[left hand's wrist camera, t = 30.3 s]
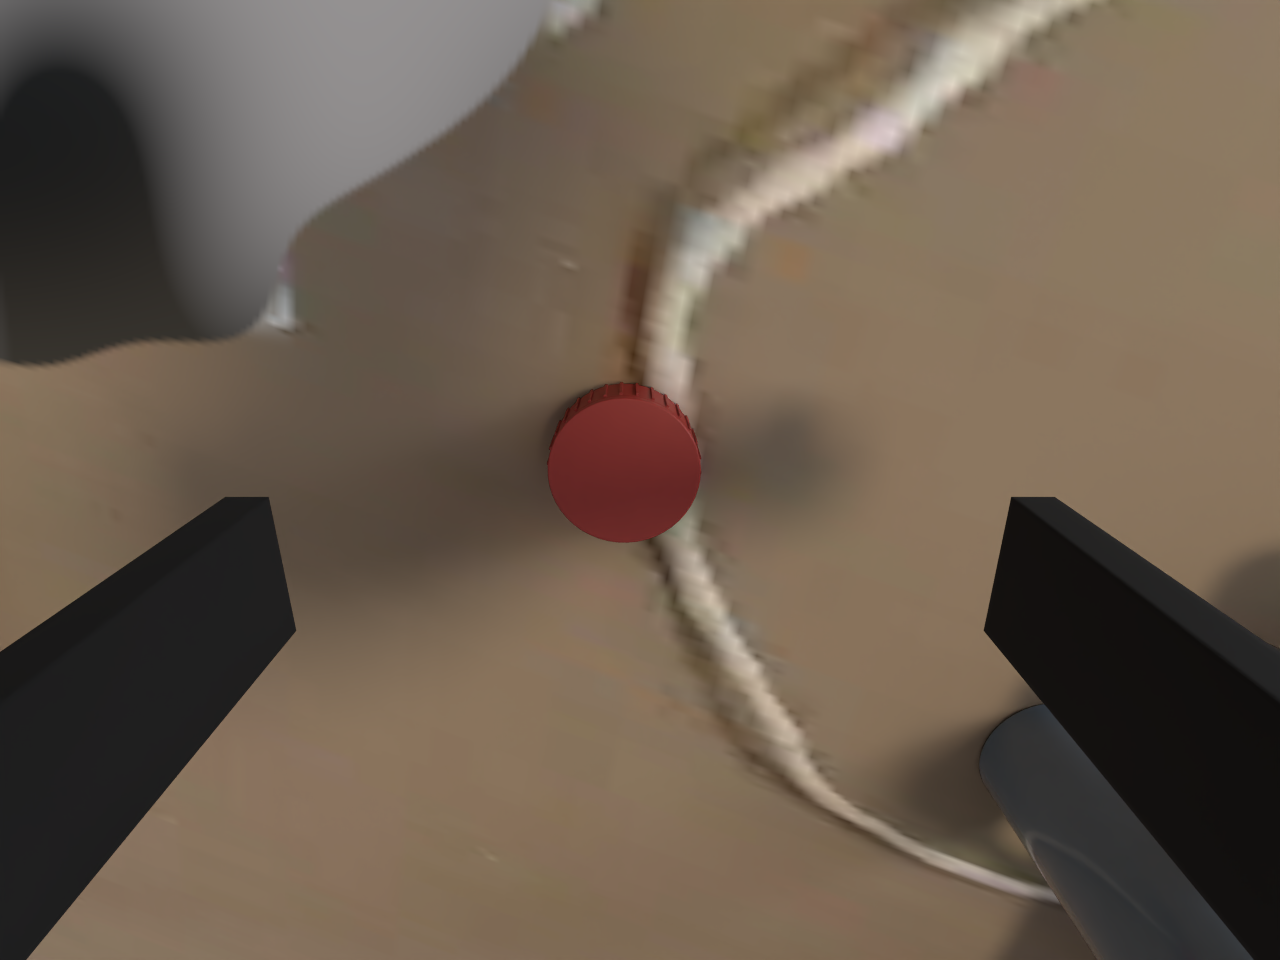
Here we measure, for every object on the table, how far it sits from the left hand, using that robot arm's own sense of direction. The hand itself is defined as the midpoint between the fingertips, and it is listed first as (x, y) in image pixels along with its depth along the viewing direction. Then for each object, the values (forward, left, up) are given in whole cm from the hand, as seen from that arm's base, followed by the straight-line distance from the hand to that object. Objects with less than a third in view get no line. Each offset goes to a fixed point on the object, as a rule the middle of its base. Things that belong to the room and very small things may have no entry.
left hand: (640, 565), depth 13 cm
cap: (0, -1, -7) cm, 7 cm away
